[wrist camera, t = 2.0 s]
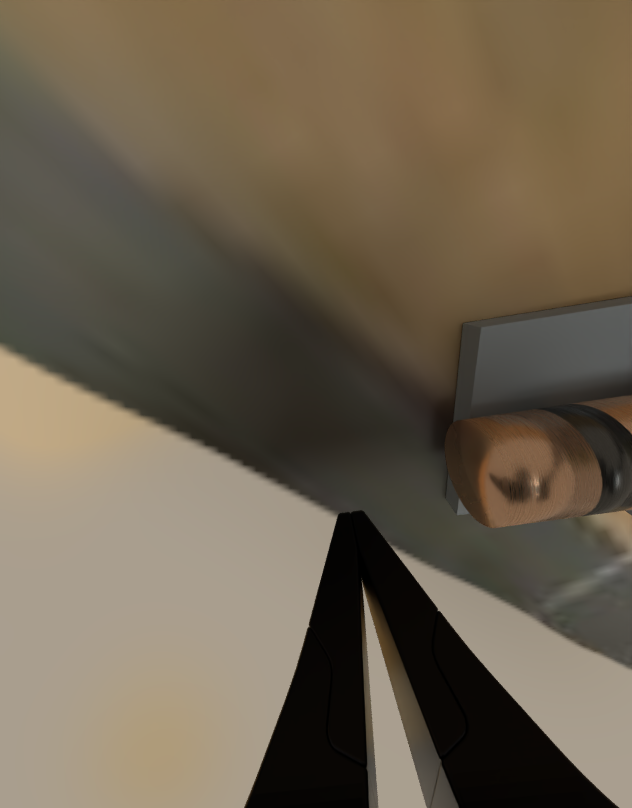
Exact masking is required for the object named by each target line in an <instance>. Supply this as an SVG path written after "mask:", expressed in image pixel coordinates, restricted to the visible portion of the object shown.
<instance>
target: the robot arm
mask: <svg viewBox="0 0 632 808" xmlns="http://www.w3.org/2000/svg"><path fill="white" fill-rule="evenodd" d="M361 578H362V579H361ZM362 583H363V587H364V590H365V594H366V598H367V601H368V605H369V608H370V612H371V615H372V618H373V622H374V626H375V629H376V633H377V636H378V639H379V643H380V646H381V650H382V654H383V657H384V660H385V664H386V667H387V671H388V674H389V677H390V681H391V685H392V688H393V692H394V695H395V699H396V702H397V705H398V709H399V712H400V716H401V720H402V723H403V726H404V730H405V733H406V737H407V740H408V744H409V747H410V751H411V754H412V757H413V761H414V765H415V768H416V771H417V775H418V779H419V782H420V786H421V789H422V792H423V796H424V799H425V803H426V806H427V808H619V807H618V806H616V805H615V804H614V803H613V802H612V801H611V800H610V799H608V798H607V797H606V796H605V795H604V794H603V793H602V792H601V791H600V790H599V789H598V788H596V786H595V785H594V784H593V783H592V782H590V781H589V780H588V779H587V778H586V777H585V776H584V775H583V774H582V773H581V772H580V771H579V770H578V769H577V768H576V766H574V764H573V763H572V762H571V761H570V760H569V759H568V758H567V757H566V756H565V755H564V754H563V753H562V752H561V751H560V750H559V748H558V747H557V746H556V745H555V744H554V743H553V742H552V741H551V740H550V739H549V737H548V736H547V735H546V734H545V733H544V732H543V731H542V730H541V729H540V728H539V726H538V725H537V724H536V723H535V722H534V721H533V720H532V719H531V717H530V716H529V715H528V714H527V713H526V712H525V711H524V710H523V709H522V707H521V706H520V705H519V704H518V703H517V702H516V701H515V700H514V699H513V698H512V696H511V695H510V694H509V693H508V692H507V691H506V690H505V689H504V688H503V686H502V685H501V684H500V683H499V682H498V681H497V680H496V679H495V678H494V676H493V675H492V674H491V673H490V672H489V671H488V670H487V668H486V667H485V666H484V665H483V664H482V663H481V662H480V661H479V660H478V658H477V657H476V656H475V655H474V653H473V652H472V651H471V650H470V649H469V648H468V646H467V645H466V644H465V643H464V641H463V640H462V639H461V638H460V636H459V635H458V634H457V633H456V632H455V630H454V629H453V628H452V626H451V625H450V624H449V622H448V621H447V620H446V618H445V617H444V616H443V615H442V613H441V612H440V611H438V608H437V607H436V606H435V604H434V603H433V602H432V600H431V599H430V598H429V596H428V595H427V594H426V593H425V591H424V590H423V588H422V587H421V586H420V585H419V583H418V582H417V581H416V579H415V578H414V577H413V575H412V574H411V573H410V571H409V570H408V569H407V567H406V566H405V565H404V564H403V562H402V561H401V560H400V558H399V557H398V556H397V554H396V553H395V552H394V550H393V549H392V548H391V546H390V545H389V544H388V543H387V541H386V540H385V539H384V537H383V536H382V535H381V533H380V532H379V531H378V529H377V528H376V527H375V526H374V524H373V523H372V522H371V520H370V519H369V518H368V516H367V515H366V514H365V512H364V511H362V510H360V511H353V512H351V513H350V512H345V513H340V514H339V515H338V517H337V521H336V525H335V528H334V532H333V536H332V540H331V543H330V547H329V551H328V554H327V558H326V562H325V566H324V569H323V573H322V577H321V580H320V584H319V588H318V592H317V595H316V599H315V603H314V607H313V610H312V614H311V618H310V622H309V627H308V629H307V632H306V636H305V639H304V643H303V647H302V650H301V653H300V657H299V660H298V663H297V667H296V670H295V673H294V676H293V679H292V682H291V685H290V688H289V691H288V693H287V696H286V699H285V702H284V705H283V707H282V710H281V713H280V715H279V718H278V721H277V724H276V726H275V729H274V732H273V734H272V737H271V739H270V742H269V745H268V747H267V750H266V753H265V756H264V758H263V761H262V763H261V767H260V769H259V772H258V774H257V777H256V779H255V782H254V785H253V787H252V790H251V792H250V795H249V797H248V800H247V802H246V804H245V807H244V808H378V796H377V783H376V768H375V755H374V740H373V727H372V714H371V713H372V712H371V698H370V684H369V670H368V656H367V642H366V629H365V615H364V600H363V588H362Z"/></svg>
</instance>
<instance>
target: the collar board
mask: <svg viewBox="0 0 632 808" xmlns="http://www.w3.org/2000/svg"><path fill="white" fill-rule="evenodd" d="M626 395H632V296H630V297H624V298H618V299H611V300H605V301H599V302H593V303H586V304H580V305H574V306H567V307H561V308H555V309H549V310H542V311H536V312H530V313H524V314H517V315H511V316H505V317H498V318H492V319H486V320H480V321H473V322H467V323H463V329H462V339H461V349H460V359H459V369H458V379H457V389H456V399H455V409H454V420H453V422H455V421H457V420H464V419H471V418H478V417H484V416H491V415H498V414H505V413H511V412H518V411H525V410H532V409H538V408H545V407H552V406H559V405H565V404H572V403H579V402H586V401H592V400H599V399H606V398H613V397H620V396H626ZM446 500H447V501H448V503H449V504H450V506H451V507H452V509H453V510H454V512H455V513H456V515H462V514H469V512H468V511H467V509H466V508H465V507H464V505H463V504H462V502H461V500H460V499H459V497H458V495H457V493H456V491H455V489H454V486H453V484H452V481H451V479H450V476H449V472H448V480H447V490H446ZM625 511H626V512H628V513H629V514H631V515H632V510H625Z"/></svg>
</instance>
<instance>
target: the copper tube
mask: <svg viewBox="0 0 632 808" xmlns="http://www.w3.org/2000/svg"><path fill="white" fill-rule="evenodd" d="M445 458H446V464H447V468H448V472H449V476H450V479H451V481H452V484H453V486H454V489H455V491H456V493H457V495H458V497H459V499H460V500H461V502H462V504H463V505H464V507H465V508H466V509H467V511H468V512H469V513H470V514H471V515H472V516H473V517H474V518H475V519H476V520H477V521H478V522H479V523H481V524H482V525H484V526H486V527H489V528H498V527H505V526H513V525H520V524H528V523H535V522H542V521H550V520H557V519H565V518H572V517H580V516H587V515H594V514H602V513H609V512H617V511H624V510H632V395H626V396H620V397H613V398H606V399H599V400H592V401H586V402H579V403H572V404H565V405H559V406H552V407H545V408H538V409H532V410H525V411H518V412H511V413H505V414H498V415H491V416H484V417H478V418H471V419H464V420H457V421H455V422H453V423H452V424H451V425H450V427H449V428H448V431H447V433H446V438H445Z"/></svg>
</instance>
